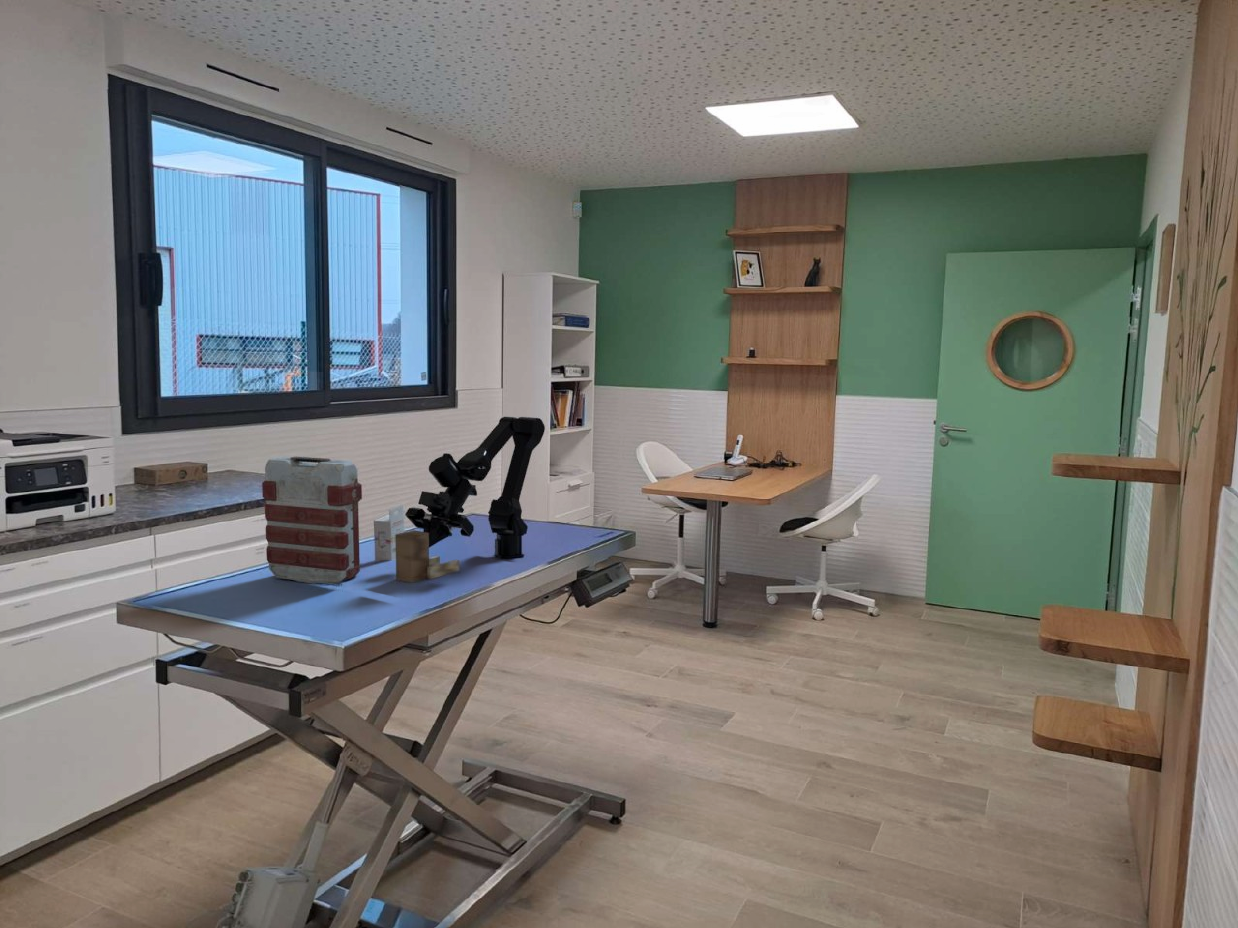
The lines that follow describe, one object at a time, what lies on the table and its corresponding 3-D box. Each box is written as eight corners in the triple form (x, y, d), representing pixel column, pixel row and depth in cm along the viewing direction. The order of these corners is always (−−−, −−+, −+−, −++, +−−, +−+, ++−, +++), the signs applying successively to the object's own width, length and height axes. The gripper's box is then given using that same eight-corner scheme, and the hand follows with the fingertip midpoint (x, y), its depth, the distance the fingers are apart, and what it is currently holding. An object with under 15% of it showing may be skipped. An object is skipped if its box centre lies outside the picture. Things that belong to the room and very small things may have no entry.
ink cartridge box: (388, 556, 245) (387, 503, 243) (405, 557, 244) (404, 504, 242) (373, 564, 236) (372, 508, 235) (391, 565, 236) (390, 509, 234)
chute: (439, 568, 232) (438, 553, 232) (468, 574, 227) (468, 559, 226) (386, 583, 217) (385, 567, 217) (416, 590, 212) (415, 573, 211)
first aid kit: (365, 580, 220) (362, 458, 216) (344, 588, 212) (340, 462, 209) (287, 571, 228) (283, 453, 224) (264, 579, 220) (259, 457, 216)
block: (414, 574, 222) (413, 530, 220) (429, 577, 219) (428, 532, 217) (396, 579, 217) (395, 534, 215) (411, 582, 214) (410, 536, 212)
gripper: (410, 475, 227) (377, 525, 219) (465, 482, 217) (433, 535, 209) (432, 502, 235) (401, 551, 227) (487, 510, 225) (456, 561, 217)
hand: (422, 549), depth 220 cm, fingers closed, pressing on block
